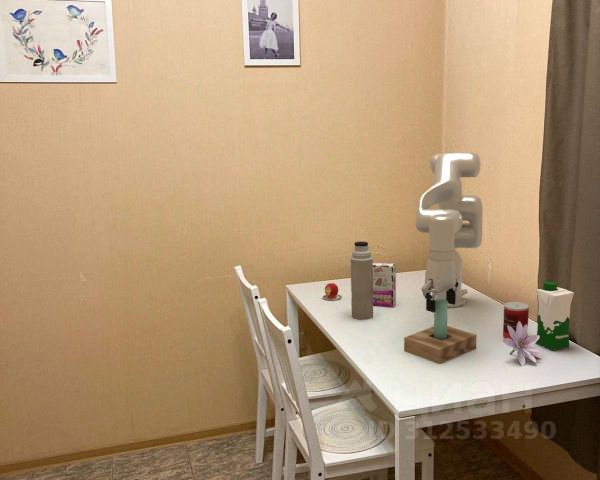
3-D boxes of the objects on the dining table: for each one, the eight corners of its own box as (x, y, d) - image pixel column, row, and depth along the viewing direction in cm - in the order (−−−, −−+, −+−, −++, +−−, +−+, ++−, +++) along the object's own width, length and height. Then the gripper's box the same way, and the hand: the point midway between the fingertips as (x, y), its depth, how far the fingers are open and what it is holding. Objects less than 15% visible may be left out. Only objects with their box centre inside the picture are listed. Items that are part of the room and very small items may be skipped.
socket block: (440, 336, 208) (440, 323, 207) (476, 348, 197) (476, 334, 196) (404, 350, 197) (404, 337, 196) (439, 363, 186) (439, 349, 185)
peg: (439, 346, 200) (440, 298, 197) (449, 349, 197) (450, 301, 193) (431, 349, 197) (431, 301, 194) (441, 352, 194) (442, 303, 191)
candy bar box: (396, 303, 244) (396, 263, 240) (393, 307, 239) (393, 266, 236) (368, 301, 248) (368, 261, 245) (365, 305, 244) (364, 264, 240)
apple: (342, 300, 250) (342, 285, 249) (322, 301, 250) (322, 285, 249) (341, 295, 258) (341, 279, 257) (322, 295, 258) (321, 280, 257)
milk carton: (552, 338, 203) (555, 279, 199) (574, 347, 195) (577, 286, 191) (531, 343, 200) (534, 283, 196) (552, 352, 191) (556, 290, 187)
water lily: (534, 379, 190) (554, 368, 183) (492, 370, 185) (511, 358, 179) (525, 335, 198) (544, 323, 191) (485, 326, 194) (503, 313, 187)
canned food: (527, 334, 208) (528, 302, 205) (527, 342, 200) (529, 309, 198) (503, 332, 210) (504, 300, 208) (502, 340, 203) (503, 308, 201)
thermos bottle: (374, 313, 234) (373, 240, 228) (372, 320, 226) (371, 244, 220) (352, 312, 235) (351, 239, 230) (350, 319, 228) (349, 244, 222)
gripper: (449, 247, 199) (448, 298, 203) (413, 258, 188) (413, 311, 192) (469, 251, 193) (467, 303, 197) (432, 262, 183) (432, 317, 187)
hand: (440, 307), depth 195 cm, fingers open, 9 cm apart
